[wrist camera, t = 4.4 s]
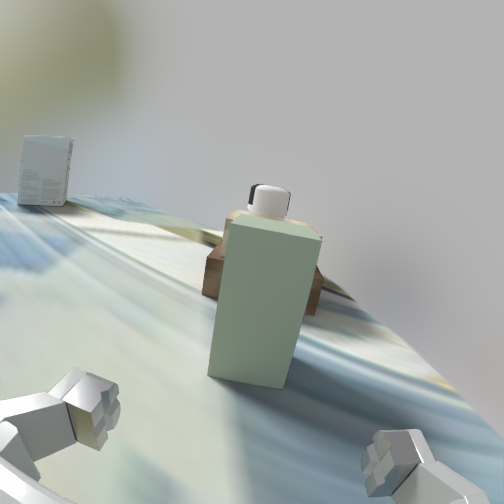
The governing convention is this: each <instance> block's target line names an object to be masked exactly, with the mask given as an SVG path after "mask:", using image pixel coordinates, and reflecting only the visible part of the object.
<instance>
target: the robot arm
mask: <svg viewBox="0 0 504 504" xmlns="http://www.w3.org/2000/svg"><path fill="white" fill-rule="evenodd" d="M118 394H119V388H118V385H117V384H116V383H114V382H111V381H109V380H106V379H104V378H101V377H99V376H96V375H94V374H92V373H88V372H86V371H84V370H82V369H80V368H73V369H72V370H71V371H70V372H69V373H68V374H67V375H66V376H65V377H64V378H63V379H62V380H61V381H60V382H59V383H58V384H57V385H56V386H55V387H54V388H53V389H52V390H51V391H50V392H49V393H47V392H41V393H36V394H32V395H28V396H23V397H19V398H14V399H10V400H5V401H0V504H76V503H74V502H72V501H71V500H69V499H67V498H65V497H63V496H61V495H59V494H58V493H56V492H54V491H52V490H50V489H49V488H47V487H45V486H44V485H42V484H40V483H39V482H38V481H39V479H40V478H41V476H40V473H39V471H38V469H37V468H36V466H35V464H34V462H35V461H37V460H39V459H42V458H44V457H46V456H48V455H51V454H53V453H55V452H57V451H60V450H62V449H64V448H66V447H68V446H70V445H72V444H75V443H76V441H77V442H79V443H81V444H84V445H86V446H88V447H91V448H93V449H95V450H98V451H100V450H101V448H102V447H103V445H104V443H105V442H106V440H107V439H108V434H107V431H109V430H112V429H114V428H115V426H116V424H117V422H118V419H119V416H120V402H119V401H118V400H117V398H116V397H117V395H118ZM372 439H373V443H372V444H371V445H369V446H368V447H366V449H365V451H364V453H363V455H362V459H361V468H362V473H363V474H365V475H366V476H367V477H368V478H367V479H366V481H365V486H366V491H367V495H368V497H385V496H391V498H392V499H393V500H394V501H395V503H396V504H490V503H489V501H488V498H487V496H486V494H485V492H484V491H483V490H481V489H480V488H478V487H477V486H475V485H474V484H472V483H471V482H469V481H468V480H466V479H465V478H463V477H462V476H460V475H459V474H457V473H456V472H454V471H453V470H451V469H450V468H448V467H447V466H446V465H444V464H443V463H441V462H440V461H435V459H434V457H433V455H432V453H431V451H430V449H429V446H428V444H427V442H426V440H425V438H424V436H423V434H422V432H421V431H420V430H419V429H408V430H379V431H377V432H376V433H375V435H374V436H373V438H372Z"/></svg>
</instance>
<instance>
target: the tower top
mask: <svg viewBox="0 0 504 504" xmlns="http://www.w3.org/2000/svg"><path fill="white" fill-rule="evenodd" d="M240 214H245V215H250V216H256V217H261V218H266V219H271V220H277V221H282V222H287V223H292V224H297V225H302V226H307V227H312V226H311V225H310V224H308V223H304V222H299V221H294V220H289V219H284V218H279V217H274V216H268V215H263V214H258V213H252V212H247V211H241V210H236V209H235V210H234V211H233V212H232V213H231V214H230V215H229V216H228V217H227V218H226V222H225V228H224V234H223V240H222V246H221V253H220V256H222V257H225V253H226V247H227V241H228V235H229V229H230V223H231V222H232V221H233V220H234V219H236V218H237V217H238V216H239V215H240ZM312 229H313V230H314V231H315V232H316V234H317V235H318V236H319V238H320V239H321V240H322V236H321V235H320V234H319V233H318V232H317V231H316V230H315V229H314V228H313V227H312Z"/></svg>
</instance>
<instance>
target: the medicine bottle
mask: <svg viewBox="0 0 504 504" xmlns="http://www.w3.org/2000/svg"><path fill="white" fill-rule="evenodd" d="M289 200H290V193H289V192H288V191H287V190H286V189H283V188H280V187H274V186H270V185H264V184H256V185H253V186H252V187H251V192H250V197H249V203H248V209H249V212H252V213H258V214H263V215H268V216H274V217H279V218H284V216H287V210H288V205H289Z"/></svg>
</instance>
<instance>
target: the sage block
mask: <svg viewBox="0 0 504 504" xmlns="http://www.w3.org/2000/svg"><path fill="white" fill-rule="evenodd" d="M321 243H322V240H321V239H320V238H319V236H318V235H317V234H316V232H315V231H314V230H313V229H312V227H307V226H302V225H297V224H292V223H287V222H282V221H277V220H271V219H266V218H261V217H256V216H250V215H245V214H240V215H239V216H238V217H237V218H236V219H234V220H233V221H232V222H231V223H230V229H229V235H228V241H227V247H226V253H225V259H224V265H223V272H222V278H221V285H220V291H219V297H218V304H217V311H216V317H215V324H214V331H213V338H212V345H211V352H210V359H209V366H208V374H207V375H208V376H213V377H217V378H222V379H227V380H232V381H237V382H242V383H247V384H253V385H258V386H264V387H270V388H276V389H283V386H284V383H285V380H286V377H287V373H288V370H289V367H290V363H291V360H292V356H293V353H294V349H295V346H296V342H297V339H298V335H299V332H300V328H301V324H302V320H303V317H304V313H305V309H306V305H307V301H308V297H309V294H310V290H311V286H312V282H313V277H314V273H315V269H316V265H317V261H318V256H319V252H320V248H321Z"/></svg>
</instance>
